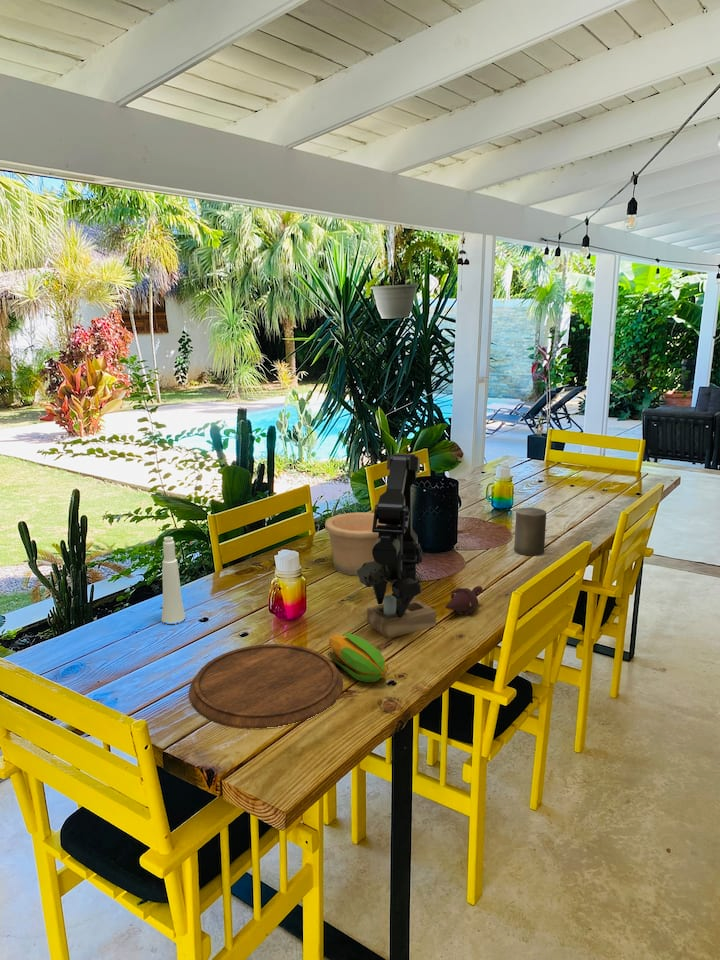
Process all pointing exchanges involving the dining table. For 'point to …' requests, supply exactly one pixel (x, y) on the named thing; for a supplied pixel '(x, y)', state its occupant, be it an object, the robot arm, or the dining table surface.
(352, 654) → the corn
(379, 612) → the socket block
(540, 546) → the pillar candle
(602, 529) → the dining table surface
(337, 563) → the pottery
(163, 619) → the cosmetic bottle
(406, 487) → the robot arm
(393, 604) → the dowel
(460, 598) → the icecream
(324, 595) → the dining table surface
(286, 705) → the cutting board
